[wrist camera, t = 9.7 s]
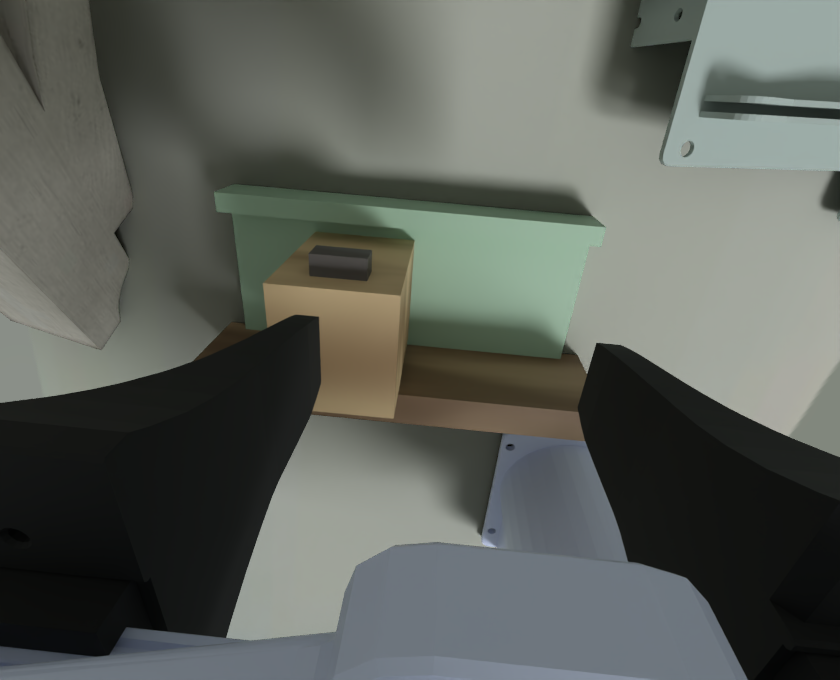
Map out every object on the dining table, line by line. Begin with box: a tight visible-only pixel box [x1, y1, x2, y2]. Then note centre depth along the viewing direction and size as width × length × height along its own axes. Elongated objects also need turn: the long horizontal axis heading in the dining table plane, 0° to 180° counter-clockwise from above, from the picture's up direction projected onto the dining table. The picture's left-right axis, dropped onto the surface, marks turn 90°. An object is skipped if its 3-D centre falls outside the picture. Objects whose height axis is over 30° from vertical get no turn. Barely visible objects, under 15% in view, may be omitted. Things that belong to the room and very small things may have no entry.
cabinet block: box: [263, 232, 415, 419], centre depth 19 cm, size 6×4×6 cm
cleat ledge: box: [214, 184, 606, 359], centre depth 21 cm, size 7×16×2 cm, turn 86°
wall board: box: [194, 322, 587, 441], centre depth 22 cm, size 2×18×5 cm, turn 86°
